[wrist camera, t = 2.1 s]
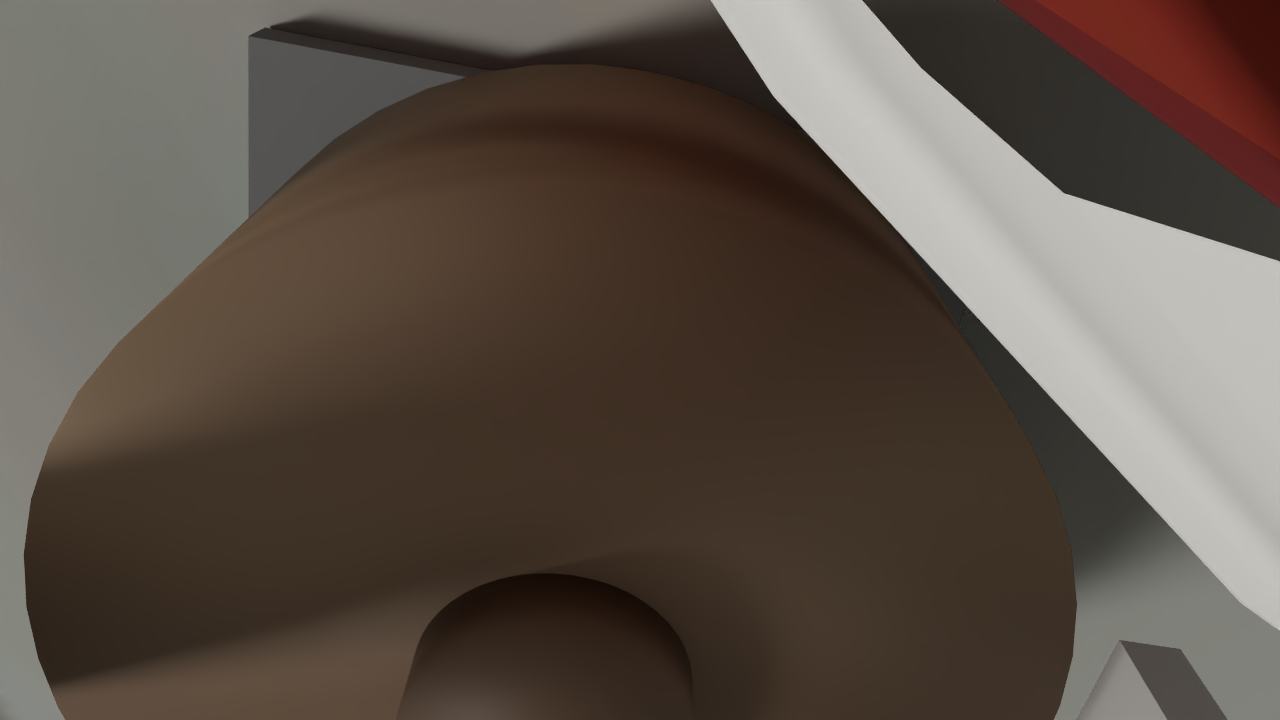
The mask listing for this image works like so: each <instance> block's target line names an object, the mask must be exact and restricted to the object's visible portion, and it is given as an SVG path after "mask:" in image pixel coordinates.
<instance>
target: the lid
mask: <svg viewBox="0 0 1280 720" xmlns="http://www.w3.org/2000/svg"><path fill="white" fill-rule="evenodd" d="M24 565H25V585H26V604H27V611H28V615H29V620H30V624H31V628H32V633H33V637H34V642H35V646H36V650H37V655H38V659H39V661H40V664H41V666H42V669H43V671H44V674H45V676H46V678H47V681H48V683H49V686H50V688H51V691H52V693H53V696H54V698H55V701H56V703H57V706H58V708H59V709H60V711H61V713H62V715H63V716H64V718H65V720H1054V718H1055V715H1056V713H1057V711H1058V709H1059V706H1060V703H1061V699H1062V695H1063V692H1064V688H1065V684H1066V680H1067V676H1068V672H1069V668H1070V665H1071V661H1072V657H1073V645H1074V633H1075V621H1076V608H1077V601H1076V591H1075V581H1074V571H1073V561H1072V551H1071V547H1070V543H1069V540H1068V536H1067V533H1066V529H1065V526H1064V522H1063V519H1062V515H1061V512H1060V508H1059V505H1058V501H1057V498H1056V495H1055V493H1054V491H1053V489H1052V486H1051V484H1050V482H1049V480H1048V478H1047V476H1046V474H1045V472H1044V470H1043V468H1042V466H1041V464H1040V462H1039V460H1038V458H1037V456H1036V454H1035V452H1034V450H1033V447H1032V445H1031V443H1030V441H1029V439H1028V438H1027V436H1026V435H1025V433H1024V431H1023V430H1022V428H1021V427H1020V425H1019V423H1018V422H1017V420H1016V418H1015V417H1014V415H1013V414H1012V412H1011V410H1010V409H1009V407H1008V406H1007V404H1006V402H1005V401H1004V399H1003V397H1002V396H1001V394H1000V393H999V391H998V389H997V388H996V386H995V385H994V383H993V381H992V380H991V378H990V376H989V375H988V373H987V372H986V370H985V368H984V367H983V365H982V364H981V362H980V360H979V359H978V357H977V355H976V354H975V352H974V351H973V349H972V347H971V346H970V344H969V343H968V341H967V339H966V338H965V336H964V334H963V333H962V331H961V330H960V328H959V326H958V325H957V323H956V321H955V320H954V318H953V317H952V315H951V313H950V312H949V310H948V309H947V307H946V305H945V304H944V302H943V300H942V299H941V297H940V296H939V294H938V292H937V291H936V289H935V288H934V286H933V284H932V283H931V281H930V279H929V278H928V276H927V275H926V273H925V271H924V270H923V268H922V267H921V265H920V263H919V262H918V260H917V258H916V257H915V255H914V254H913V252H912V250H911V249H910V247H909V246H908V244H907V242H906V241H905V240H904V238H903V237H902V235H901V234H900V233H899V232H898V231H897V230H896V229H895V228H894V227H893V225H892V224H891V223H890V222H889V221H888V220H887V219H886V218H885V217H884V216H883V215H882V214H881V212H880V211H879V210H878V209H877V208H876V207H875V206H874V205H873V204H872V203H871V202H870V201H869V199H868V198H867V197H866V196H865V195H864V194H863V193H862V192H861V191H860V190H859V189H858V188H857V186H856V185H855V184H854V183H853V182H852V181H851V180H850V179H849V178H848V177H847V176H846V175H845V173H844V172H843V171H842V170H841V169H840V168H839V167H838V166H837V165H836V164H835V163H834V162H833V160H832V159H831V158H830V157H829V156H828V155H827V154H826V153H825V152H824V151H823V150H822V149H821V148H820V147H819V146H817V145H816V144H815V143H813V142H812V141H811V140H810V139H808V138H807V137H806V136H805V135H803V134H802V133H800V132H799V131H797V130H795V129H793V128H792V127H790V126H788V125H786V124H785V123H783V122H781V121H780V120H778V119H776V118H774V117H773V116H771V115H769V114H768V113H766V112H764V111H762V110H761V109H759V108H757V107H755V106H753V105H751V104H748V103H746V102H743V101H741V100H738V99H736V98H734V97H731V96H729V95H726V94H724V93H721V92H719V91H717V90H714V89H712V88H709V87H707V86H704V85H701V84H697V83H693V82H689V81H685V80H682V79H678V78H674V77H670V76H666V75H662V74H659V73H655V72H651V71H644V70H636V69H628V68H620V67H612V66H604V65H596V64H562V65H531V66H524V67H518V68H511V69H504V70H497V71H490V72H484V73H478V74H475V75H472V76H468V77H465V78H462V79H458V80H455V81H452V82H448V83H445V84H441V85H438V86H434V87H431V88H428V89H425V90H423V91H421V92H419V93H416V94H414V95H412V96H410V97H408V98H405V99H403V100H401V101H399V102H396V103H394V104H392V105H390V106H388V107H385V108H383V109H381V110H379V111H377V112H376V113H374V114H372V115H371V116H369V117H368V118H366V119H365V120H363V121H362V122H360V123H358V124H357V125H355V126H354V127H352V128H351V129H349V130H347V131H346V132H344V133H343V134H341V135H340V136H338V137H337V138H335V139H334V140H333V141H331V142H330V143H329V144H328V145H327V146H326V147H325V148H324V149H322V150H321V151H320V152H319V153H318V154H317V155H316V156H314V157H313V158H312V159H311V160H310V161H309V162H308V163H306V164H305V165H304V166H303V167H302V168H301V169H300V170H298V171H297V172H296V173H295V174H294V175H293V176H292V177H291V178H290V179H289V180H288V181H287V182H286V183H285V184H284V185H283V186H282V187H281V188H280V189H279V190H277V191H276V192H275V193H274V194H273V195H272V196H271V197H270V198H269V199H268V200H267V201H266V202H265V203H264V204H263V205H262V206H261V207H260V208H259V209H258V210H257V211H256V212H254V213H253V214H252V215H251V216H250V217H249V218H248V219H247V220H246V221H245V222H244V223H243V224H242V225H241V226H240V227H239V228H238V229H237V230H236V231H235V232H234V233H233V234H231V235H230V236H229V237H228V238H227V239H226V240H225V241H224V242H223V243H222V244H221V245H220V246H219V247H218V248H217V249H216V250H215V251H214V252H213V253H212V254H211V255H210V256H208V257H207V258H206V259H205V260H204V261H203V262H202V263H201V264H200V265H199V266H198V267H197V268H196V269H195V270H194V271H193V272H192V273H191V274H190V275H189V276H188V277H187V278H185V279H184V280H183V281H182V282H181V283H180V284H179V285H178V286H177V287H176V288H175V289H174V290H173V291H172V292H171V293H170V294H169V295H168V296H167V297H166V298H165V299H164V300H162V301H161V302H160V303H159V304H158V305H157V306H156V307H155V308H154V309H153V310H152V311H151V312H150V313H149V314H148V315H147V316H146V317H145V318H144V319H143V320H142V321H141V322H139V323H138V324H137V325H136V326H135V327H134V328H133V329H132V330H131V331H130V332H129V333H128V334H127V335H126V336H125V337H124V338H123V339H122V340H121V341H120V342H119V343H118V344H117V345H116V346H115V348H114V349H113V350H112V351H111V353H110V354H109V355H108V356H107V357H106V359H105V360H104V361H103V362H102V364H101V365H100V366H99V367H98V368H97V370H96V371H95V372H94V373H93V375H92V376H91V377H90V378H89V380H88V381H87V382H86V383H85V384H84V386H83V387H82V388H81V389H80V391H79V392H78V393H77V395H76V397H75V399H74V401H73V402H72V404H71V406H70V408H69V410H68V412H67V413H66V415H65V417H64V419H63V421H62V422H61V424H60V426H59V428H58V430H57V432H56V433H55V435H54V437H53V439H52V441H51V442H50V444H49V447H48V450H47V453H46V456H45V459H44V462H43V465H42V468H41V471H40V474H39V477H38V480H37V483H36V486H35V489H34V492H33V495H32V498H31V504H30V512H29V519H28V527H27V534H26V542H25V549H24Z"/></svg>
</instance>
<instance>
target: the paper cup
mask: <svg viewBox="0 0 1280 720" xmlns="http://www.w3.org/2000/svg"><path fill="white" fill-rule="evenodd" d="M998 1H999V2H1000V3H1002V4H1003V5H1005V6H1006V7H1007V8H1009V9H1010V10H1011V11H1013V12H1014V13H1015V14H1017V15H1018V16H1020V17H1021V18H1022V19H1024V20H1025V21H1026V22H1028V23H1029V24H1030V25H1032V26H1033V27H1034V28H1036V29H1037V30H1039V31H1040V32H1041V33H1043V34H1044V35H1045V36H1047V37H1048V38H1049V39H1051V40H1052V41H1054V42H1055V43H1056V44H1058V45H1059V46H1060V47H1062V48H1063V49H1064V50H1066V51H1067V52H1068V53H1070V54H1071V55H1073V56H1074V57H1075V58H1077V59H1078V60H1079V61H1081V62H1082V63H1083V64H1085V65H1086V66H1088V67H1089V68H1090V69H1092V70H1093V71H1094V72H1096V73H1097V74H1098V75H1100V76H1101V77H1102V78H1104V79H1105V80H1107V81H1108V82H1109V83H1111V84H1112V85H1113V86H1115V87H1116V88H1117V89H1119V90H1120V91H1122V92H1123V93H1124V94H1126V95H1127V96H1128V97H1130V98H1131V99H1132V100H1134V101H1135V102H1136V103H1138V104H1139V105H1141V106H1142V107H1143V108H1145V109H1146V110H1147V111H1149V112H1150V113H1151V114H1153V115H1154V116H1156V117H1157V118H1158V119H1160V120H1161V121H1162V122H1164V123H1165V124H1166V125H1168V126H1169V127H1170V128H1172V129H1173V130H1175V131H1176V132H1177V133H1179V134H1180V135H1181V136H1183V137H1184V138H1185V139H1187V140H1188V141H1190V142H1191V143H1192V144H1194V145H1195V146H1196V147H1198V148H1199V149H1200V150H1202V151H1203V152H1204V153H1206V154H1207V155H1209V156H1210V157H1211V158H1213V159H1214V160H1215V161H1217V162H1218V163H1219V164H1221V165H1222V166H1224V167H1225V168H1226V169H1228V170H1229V171H1230V172H1232V173H1233V174H1234V175H1236V176H1237V177H1238V178H1240V179H1241V180H1243V181H1244V182H1245V183H1247V184H1248V185H1249V186H1251V187H1252V188H1253V189H1255V190H1256V191H1258V192H1259V193H1260V194H1262V195H1263V196H1264V197H1266V198H1267V199H1268V200H1270V201H1271V202H1272V203H1274V204H1275V205H1277V206H1278V207H1279V208H1280V0H998ZM711 2H712V3H713V5H714V6H715V8H716V9H717V11H718V12H719V14H720V15H721V17H722V18H723V20H724V21H725V23H726V25H727V26H728V28H729V29H730V31H731V32H732V34H733V35H734V37H735V38H736V40H737V41H738V43H739V44H740V46H741V47H742V49H743V51H744V52H745V54H746V55H747V57H748V58H749V60H750V61H751V63H752V64H753V66H754V67H755V69H756V70H757V72H758V73H759V75H760V76H761V78H762V80H763V81H764V83H765V84H766V86H767V87H768V89H769V90H770V92H771V93H772V95H773V96H774V98H775V99H776V100H777V101H778V102H779V103H780V104H781V105H782V106H783V107H784V108H785V109H786V111H787V112H788V113H789V114H790V115H791V116H792V117H793V118H794V119H795V120H796V121H797V122H798V124H799V125H800V126H801V127H802V128H803V129H804V130H805V131H806V132H807V133H808V134H809V136H810V137H811V138H812V139H813V140H814V141H815V142H816V143H817V144H818V145H819V146H820V147H821V149H822V150H823V151H824V152H825V153H826V154H827V155H828V156H829V157H830V158H831V159H832V160H833V162H834V163H835V164H836V165H837V166H838V167H839V168H840V169H841V170H842V171H843V172H844V173H845V175H846V176H847V177H848V178H849V179H850V180H851V181H852V182H853V183H854V184H855V185H856V186H857V188H858V189H859V190H860V191H861V192H862V193H863V194H864V195H865V196H866V197H867V198H868V199H869V201H870V202H871V203H872V204H873V205H874V206H875V207H876V208H877V209H878V210H879V211H880V212H881V214H882V215H883V216H884V217H885V218H886V219H887V220H888V221H889V222H890V223H891V224H892V225H893V227H894V228H895V229H896V230H897V231H898V232H899V233H900V234H901V235H902V236H903V237H904V238H905V240H906V241H907V242H908V243H909V244H910V245H911V246H912V247H913V248H914V249H915V250H916V252H917V253H918V254H919V255H920V256H921V257H922V258H923V259H924V260H925V261H926V262H927V263H928V265H929V266H930V267H931V268H932V269H933V270H934V271H935V272H936V273H937V274H938V275H939V276H940V278H941V279H942V280H943V281H944V282H945V283H946V284H947V285H948V286H949V287H950V288H951V289H952V291H953V292H954V293H955V294H956V295H957V296H958V297H959V298H960V299H961V300H962V301H963V302H964V304H965V305H966V306H967V307H968V308H969V309H970V310H971V311H972V312H973V313H974V314H975V315H976V317H977V318H978V319H979V320H980V321H981V322H982V323H983V324H984V325H985V326H986V327H987V328H988V330H989V331H990V332H991V333H992V334H993V335H994V336H995V337H996V338H997V339H998V340H999V341H1000V343H1001V344H1002V345H1003V346H1004V347H1005V348H1006V349H1007V350H1008V351H1009V352H1010V353H1011V354H1012V356H1013V357H1014V358H1015V359H1016V360H1017V361H1018V362H1019V363H1020V364H1021V365H1022V366H1023V368H1024V369H1025V370H1026V371H1027V372H1028V373H1029V374H1030V375H1031V376H1032V377H1033V378H1034V379H1035V381H1036V382H1037V383H1038V384H1039V385H1040V386H1041V387H1042V388H1043V389H1044V390H1045V391H1046V392H1047V394H1048V395H1049V396H1050V397H1051V398H1052V399H1053V400H1054V401H1055V402H1056V403H1057V404H1058V405H1059V407H1060V408H1061V409H1062V410H1063V411H1064V412H1065V413H1066V414H1067V415H1068V416H1069V417H1070V418H1071V420H1072V421H1073V422H1074V423H1075V424H1076V425H1077V426H1078V427H1079V428H1080V429H1081V430H1082V431H1083V433H1084V434H1085V435H1086V436H1087V437H1088V438H1089V439H1090V440H1091V441H1092V442H1093V443H1094V444H1095V446H1096V447H1097V448H1098V449H1099V450H1100V451H1101V452H1102V453H1103V454H1104V455H1105V456H1106V457H1107V459H1108V460H1109V461H1110V462H1111V463H1112V464H1113V465H1114V466H1115V467H1116V468H1117V469H1118V470H1119V472H1120V473H1121V474H1122V475H1123V476H1124V477H1125V478H1126V479H1127V480H1128V481H1129V482H1130V484H1131V485H1132V486H1133V487H1134V488H1135V489H1136V490H1137V491H1138V492H1139V493H1140V494H1141V495H1142V497H1143V498H1144V499H1145V500H1146V501H1147V502H1148V503H1149V504H1150V505H1151V506H1152V507H1153V508H1154V510H1155V511H1156V512H1157V513H1158V514H1159V515H1160V516H1161V517H1162V518H1163V519H1164V520H1165V521H1166V523H1167V524H1168V525H1169V526H1170V527H1171V528H1172V529H1173V530H1174V531H1175V532H1176V533H1177V534H1178V536H1179V537H1180V538H1181V539H1182V540H1183V541H1184V542H1185V543H1186V544H1187V545H1188V546H1189V547H1190V549H1191V550H1192V551H1193V552H1194V553H1195V554H1196V555H1197V556H1198V557H1199V558H1200V559H1201V561H1202V562H1203V563H1204V564H1205V565H1206V566H1207V567H1208V568H1209V569H1210V570H1211V571H1212V572H1213V574H1214V575H1215V576H1216V577H1217V578H1218V579H1219V580H1220V581H1221V582H1222V583H1223V584H1224V585H1225V587H1226V588H1227V589H1228V590H1229V591H1230V592H1231V593H1232V594H1233V595H1234V596H1235V597H1236V598H1237V600H1238V601H1239V602H1240V603H1241V604H1243V605H1244V606H1246V607H1247V608H1248V609H1250V610H1251V611H1253V612H1254V613H1256V614H1257V615H1258V616H1260V617H1261V618H1263V619H1264V620H1265V621H1267V622H1268V623H1270V624H1271V625H1272V626H1274V627H1275V628H1277V629H1278V630H1279V631H1280V261H1277V260H1274V259H1271V258H1268V257H1264V256H1261V255H1258V254H1255V253H1252V252H1249V251H1245V250H1242V249H1239V248H1236V247H1233V246H1230V245H1226V244H1223V243H1220V242H1217V241H1214V240H1211V239H1207V238H1204V237H1201V236H1198V235H1195V234H1192V233H1188V232H1185V231H1182V230H1179V229H1176V228H1173V227H1169V226H1166V225H1163V224H1160V223H1157V222H1154V221H1150V220H1147V219H1144V218H1141V217H1138V216H1135V215H1131V214H1128V213H1125V212H1122V211H1119V210H1115V209H1112V208H1109V207H1106V206H1103V205H1100V204H1096V203H1093V202H1090V201H1087V200H1084V199H1081V198H1078V197H1074V196H1071V195H1068V194H1065V193H1063V192H1062V191H1061V190H1059V189H1058V188H1057V187H1056V186H1055V185H1054V184H1053V183H1051V182H1050V181H1049V180H1048V179H1047V178H1046V177H1045V176H1043V175H1042V174H1041V173H1040V172H1039V171H1038V170H1037V169H1036V168H1034V167H1033V166H1032V165H1031V164H1030V163H1029V162H1028V161H1026V160H1025V159H1024V158H1023V157H1022V156H1021V155H1020V154H1018V153H1017V152H1016V151H1015V150H1014V149H1013V148H1012V147H1010V146H1009V145H1008V144H1007V143H1006V142H1005V141H1004V140H1002V139H1001V138H1000V137H999V136H998V135H997V134H996V133H994V132H993V131H992V130H991V129H990V128H989V127H988V126H986V125H985V124H984V123H983V122H982V121H981V120H980V119H979V118H977V117H976V116H975V115H974V114H973V113H972V112H971V111H969V110H968V109H967V108H966V107H965V106H964V105H963V104H961V103H960V102H959V101H958V100H957V99H956V98H955V97H953V96H952V95H951V94H950V93H949V92H948V91H947V90H945V89H944V88H943V87H942V86H941V85H940V84H939V83H937V82H936V81H935V80H934V79H933V78H932V77H931V76H929V75H928V74H927V73H926V72H925V71H924V70H923V69H922V68H921V67H920V66H919V65H918V64H917V63H916V62H915V60H914V59H913V58H912V57H911V56H910V55H909V54H908V52H907V51H906V50H905V49H904V48H903V47H902V46H901V44H900V43H899V42H898V41H897V40H896V39H895V37H894V36H893V35H892V34H891V33H890V32H889V31H888V29H887V28H886V27H885V26H884V25H883V24H882V23H881V21H880V20H879V19H878V18H877V17H876V16H875V14H874V13H873V12H872V11H871V10H870V9H869V8H868V6H867V5H866V4H865V3H864V2H863V1H862V0H711Z"/></svg>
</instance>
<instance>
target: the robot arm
mask: <svg viewBox="0 0 1280 720" xmlns="http://www.w3.org/2000/svg"><path fill="white" fill-rule="evenodd" d="M1077 720H1227V718H1226V717H1225V715H1224V714H1223V712H1222V711H1221V709H1220V708H1219V706H1218V705H1217V703H1216V702H1215V700H1214V699H1213V697H1212V696H1211V694H1210V693H1209V691H1208V690H1207V688H1206V687H1205V685H1204V684H1203V682H1202V681H1201V679H1200V678H1199V676H1198V675H1197V673H1196V672H1195V670H1194V669H1193V667H1192V666H1191V664H1190V663H1189V661H1188V660H1187V658H1186V657H1185V655H1184V654H1183V652H1182V651H1181V649H1176V648H1169V647H1163V646H1156V645H1149V644H1143V643H1136V642H1129V641H1123V640H1119V642H1118V644H1117V645H1116V647H1115V649H1114V651H1113V653H1112V655H1111V657H1110V658H1109V660H1108V662H1107V664H1106V666H1105V668H1104V670H1103V672H1102V673H1101V675H1100V677H1099V679H1098V681H1097V683H1096V685H1095V686H1094V688H1093V690H1092V692H1091V694H1090V696H1089V698H1088V699H1087V701H1086V703H1085V705H1084V707H1083V709H1082V711H1081V713H1080V714H1079V716H1078V718H1077Z"/></svg>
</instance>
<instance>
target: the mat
mask: <svg viewBox="0 0 1280 720" xmlns="http://www.w3.org/2000/svg"><path fill="white" fill-rule="evenodd" d="M490 71H491V70H486V69H481V68H475V67H470V66H465V65H460V64H454V63H449V62H444V61H438V60H433V59H428V58H423V57H417V56H412V55H407V54H401V53H396V52H391V51H386V50H380V49H375V48H370V47H364V46H359V45H354V44H349V43H343V42H338V41H333V40H327V39H322V38H317V37H311V36H306V35H301V34H296V33H290V32H285V31H280V30H274V29H269V28H264V29H262V30H260V31H258V32H256V33H254V34H252V35H250V36H249V217H250V216H251V215H252V214H253V213H254V212H256V211H257V210H258V209H259V208H260V207H261V206H262V205H263V204H264V203H265V202H266V201H267V200H268V199H269V198H270V197H271V196H272V195H273V194H274V193H275V192H276V191H277V190H279V189H280V188H281V187H282V186H283V185H284V184H285V183H286V182H287V181H288V180H289V179H290V178H291V177H292V176H293V175H294V174H295V173H296V172H297V171H298V170H300V169H301V168H302V167H303V166H304V165H305V164H306V163H308V162H309V161H310V160H311V159H312V158H313V157H314V156H316V155H317V154H318V153H319V152H320V151H321V150H322V149H324V148H325V147H326V146H327V145H328V144H329V143H330V142H331V141H333V140H334V139H335V138H337V137H338V136H340V135H341V134H343V133H344V132H346V131H347V130H349V129H351V128H352V127H354V126H355V125H357V124H358V123H360V122H362V121H363V120H365V119H366V118H368V117H369V116H371V115H372V114H374V113H376V112H377V111H379V110H381V109H383V108H385V107H388V106H390V105H392V104H394V103H396V102H399V101H401V100H403V99H405V98H408V97H410V96H412V95H414V94H416V93H419V92H421V91H423V90H425V89H428V88H431V87H434V86H438V85H441V84H445V83H448V82H452V81H455V80H458V79H462V78H465V77H468V76H472V75H475V74H478V73H484V72H490ZM792 128H793V127H792ZM793 129H795V130H797V131H799V132H800V133H802V134H803V135H805V136H806V137H807V138H808V139H810V140H811V141H812V142H813V143H815V144H816V145H817V146H819V145H818V144H817V143H816V142H815V141H814V140H813V139H812V138H811V137H810V136H809V134H808V133H807V132H806V131H805V130H803V129H798V128H793ZM819 147H820V146H819ZM820 148H821V147H820ZM902 237H903V236H902ZM903 238H904V237H903ZM904 240H905V238H904ZM905 241H906V240H905ZM906 242H907V241H906ZM907 244H908V246H909V247H910V249H911V250H912V252H913V254H914V255H915V257H916V258H917V260H918V262H919V263H920V265H921V267H922V268H923V270H924V271H925V273H926V275H927V276H928V278H929V279H930V281H931V283H932V284H933V286H934V288H935V289H936V291H937V292H938V294H939V296H940V297H941V299H942V300H943V302H944V304H945V305H946V307H947V309H948V310H949V312H950V313H951V315H952V317H953V318H954V320H955V321H956V323H957V325H958V326H959V323H960V320H961V318H962V315H963V312H964V310H965V307H966V305H965V304H964V302H963V301H962V300H961V299H960V298H959V297H958V296H957V295H956V294H955V293H954V292H953V291H952V289H951V288H950V287H949V286H948V285H947V284H946V283H945V282H944V281H943V280H942V279H941V278H940V276H939V275H938V274H937V273H936V272H935V271H934V270H933V269H932V268H931V267H930V266H929V265H928V263H927V262H926V261H925V260H924V259H923V258H922V257H921V256H920V255H919V254H918V253H917V252H916V250H915V249H914V248H913V247H912V246H911V245H910V244H909V243H908V242H907Z"/></svg>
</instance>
